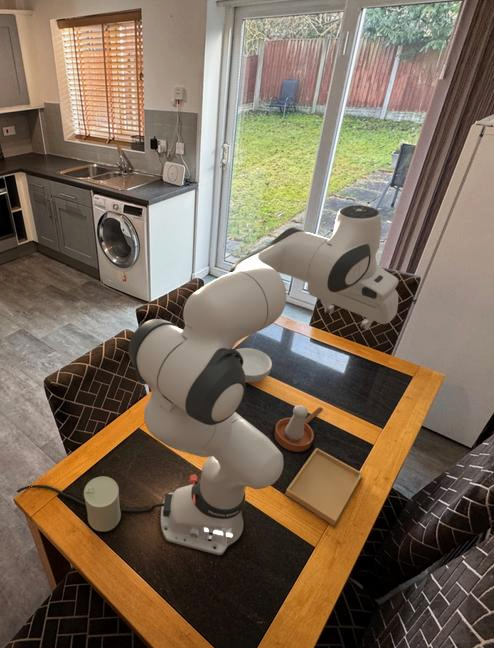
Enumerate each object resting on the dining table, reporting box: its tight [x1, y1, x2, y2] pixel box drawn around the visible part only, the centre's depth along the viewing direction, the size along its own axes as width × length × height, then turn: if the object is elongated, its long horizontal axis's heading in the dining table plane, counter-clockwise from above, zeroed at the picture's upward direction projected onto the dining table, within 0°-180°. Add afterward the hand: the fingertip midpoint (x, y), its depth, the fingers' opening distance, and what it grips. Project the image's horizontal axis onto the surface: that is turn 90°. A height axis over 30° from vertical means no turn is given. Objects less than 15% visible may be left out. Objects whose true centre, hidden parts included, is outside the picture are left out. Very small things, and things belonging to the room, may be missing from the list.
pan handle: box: [304, 406, 324, 425], centre depth 138 cm, size 11×1×1 cm, turn 130°
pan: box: [273, 417, 315, 453], centre depth 133 cm, size 12×12×3 cm
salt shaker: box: [285, 404, 309, 441], centre depth 130 cm, size 6×6×13 cm
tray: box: [284, 447, 364, 527], centre depth 118 cm, size 20×14×2 cm
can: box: [83, 475, 122, 532], centre depth 108 cm, size 9×9×12 cm
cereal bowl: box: [235, 347, 273, 384], centre depth 158 cm, size 17×17×7 cm
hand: (346, 319), depth 99 cm, fingers open, 8 cm apart
